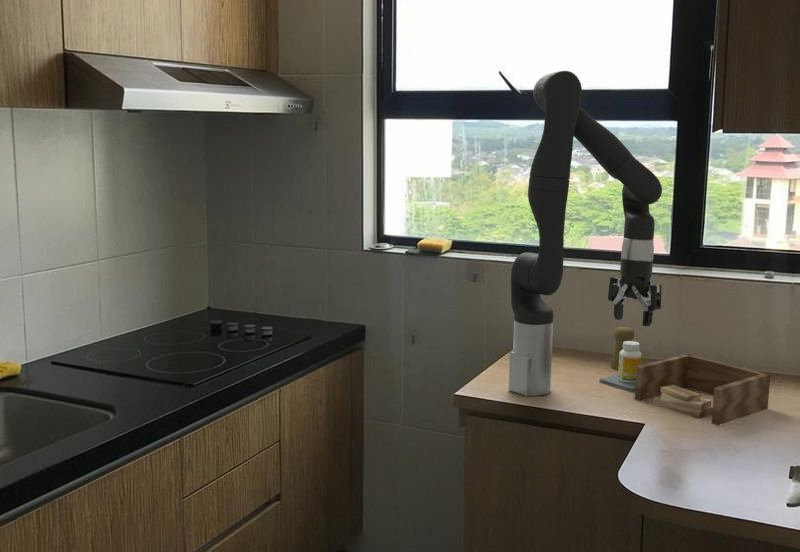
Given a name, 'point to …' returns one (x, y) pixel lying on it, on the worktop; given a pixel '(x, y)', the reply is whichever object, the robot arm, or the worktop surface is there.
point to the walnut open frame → (707, 384)
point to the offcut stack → (683, 401)
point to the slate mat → (618, 383)
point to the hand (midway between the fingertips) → (632, 322)
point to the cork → (620, 343)
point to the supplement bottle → (629, 361)
